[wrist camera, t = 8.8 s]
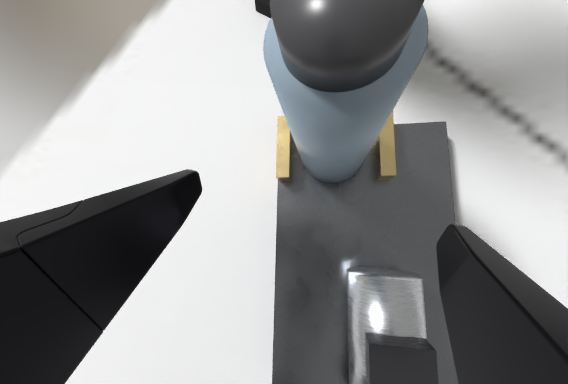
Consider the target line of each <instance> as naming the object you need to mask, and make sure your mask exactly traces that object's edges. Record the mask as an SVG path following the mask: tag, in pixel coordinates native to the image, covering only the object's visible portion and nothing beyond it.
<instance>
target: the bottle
mask: <svg viewBox="0 0 568 384" xmlns="http://www.w3.org/2000/svg"><path fill="white" fill-rule="evenodd" d="M423 2H424V0H270V11H271V16H272V17H271V19H270V21H269V23H268V26H267V29H266V32H265V38H264V49H263V50H264V59H265V63H266V67H267V70H268V72H269V75H270V78H271V80H272V83H273V86H274V88H275V91H276V94H277V96H278V99H279V102H280V104H281V107H282V110H283V113H284V115H285V118H286V121H287V123H288V126H289V129H290V131H291V134H292V137H293V139H294V142H295V145H296V147H297V150H298V153H299V155H300V158H301V161H302V163H303V166H304V167H305V169H306V170H307V172H308V173H309V174H310V175H312V176H313V177H314V178H316V179H318V180H321V181H324V182H340V181H343V180H346V179H348V178H350V177H351V176H353V175H354V174H355V173H356V172H357V171H358V170H359V169H360V167H361V165H362V164H363V162H364V160H365V158H366V157H367V155H368V153H369V151H370V150H371V148H372V146H373V144H374V142H375V141H376V139H377V137H378V135H379V134H380V132H381V130H382V128H383V126H384V125H385V123H386V121H387V119H388V118H389V116H390V114H391V112H392V110H393V109H394V107H395V105H396V103H397V102H398V100H399V98H400V96H401V94H402V93H403V91H404V89H405V87H406V86H407V84H408V82H409V80H410V78H411V77H412V75H413V73H414V71H415V70H416V68H417V66H418V64H419V62H420V61H421V59H422V56H423V54H424V51H425V48H426V44H427V40H428V19H427V15H426V11H425V9H424V7H423Z"/></svg>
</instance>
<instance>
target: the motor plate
mask: <svg viewBox="0 0 568 384" xmlns="http://www.w3.org/2000/svg"><path fill="white" fill-rule="evenodd" d="M276 178H277V179H278V197H277V232H276V268H275V303H274V339H273V374H272V384H459V383H458V378H457V374H456V369H455V364H454V359H453V354H452V349H451V344H450V340H449V335H448V330H447V325H446V320H445V315H444V310H443V306H442V301H441V295H440V289H439V278H438V265H437V251H436V245H437V242H438V240H439V238H440V237H441V235H442V234H443V232H444V231H445V229H446V228H447V226H448V225H450V224H455V216H454V205H453V194H452V183H451V172H450V161H449V150H448V139H447V128H446V122H429V123H411V124H393V110H392V112H391V114H390V116H389V118H388V119H387V121H386V123H385V125H384V126H383V128H382V130H381V132H380V134H379V135H378V137H377V139H376V141H375V142H374V144H373V146H372V148H371V150H370V151H369V153H368V155H367V157H366V158H365V160H364V162H363V164H362V165H361V167H360V169H359V170H358V171H357V172H356V173H355V174H354V175H353V176H351V177H350V178H348V179H346V180H343V181H340V182H324V181H321V180H318V179H316V178H314V177H313V176H312V175H310V174H309V173H308V172H307V170H306V169H305V167H304V166H303V163H302V161H301V158H300V155H299V153H298V150H297V147H296V145H295V142H294V139H293V137H292V134H291V131H290V129H289V126H288V123H287V121H286V118H285V116H278V132H277V166H276Z"/></svg>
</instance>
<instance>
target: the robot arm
mask: <svg viewBox="0 0 568 384" xmlns="http://www.w3.org/2000/svg"><path fill="white" fill-rule="evenodd" d="M201 192H202V186H201V181H200V177H199V173H198V172H197V171H194V170H183V171H180V172H177V173H173V174H170V175H166V176H163V177H160V178H156V179H153V180H149V181H146V182H143V183H139V184H136V185H132V186H129V187H126V188H122V189H119V190H115V191H112V192H109V193H105V194H102V195H99V196H95V197H92V198H88V199H85V200H84V201H83V200H81V201H78V202H75V203H71V204H68V205H64V206H61V207H57V208H54V209H50V210H46V211H43V212H39V213H35V214H31V215H27V216H23V217H20V218H16V219H12V220H8V221H4V222H0V384H65V383H66V381H67V380H68V378H69V377H70V376H71V374H72V373H73V372H74V370H75V369H76V368H77V366H78V365H79V364H80V362H81V361H82V360H83V358H84V357H85V356H86V354H87V353H88V352H89V350H90V349H91V348H92V346H93V345H94V343H95V342H96V341H97V339H98V338H99V337H100V335H101V334H102V333H103V330H105V328H106V327H107V326H108V324H109V323H110V322H111V320H112V319H113V318H114V316H115V315H116V314H117V312H118V311H119V310H120V308H121V307H122V306H123V304H124V303H125V302H126V300H127V299H128V297H129V296H130V295H131V293H132V292H133V291H134V289H135V288H136V287H137V285H138V284H139V283H140V281H141V280H142V279H143V277H144V276H145V275H146V273H147V272H148V271H149V269H150V268H151V267H152V265H153V264H154V263H155V261H156V260H157V258H158V257H159V256H160V254H161V253H162V252H163V250H164V249H165V248H166V246H167V245H168V244H169V242H170V241H171V240H172V238H173V237H174V236H175V234H176V233H177V232H178V230H179V229H180V228H181V226H182V225H183V223H184V222H185V220H186V218H187V217H188V215H189V213H190V212H191V210H192V208H193V207H194V205H195V203H196V202H197V200H198V198H199V196H200V195H201ZM436 251H437V265H438V278H439V289H440V295H441V301H442V306H443V310H444V315H445V320H446V325H447V330H448V335H449V340H450V344H451V349H452V354H453V359H454V364H455V369H456V374H457V378H458V383H459V384H568V308H566V307H565V306H564V305H563V304H561V303H560V302H559V301H558V300H556V299H555V298H554V297H553V296H551V295H550V294H549V293H548V292H546V291H545V290H544V289H543V288H541V287H540V286H539V285H538V284H536V283H535V282H534V281H533V280H532V279H530V278H529V277H528V276H527V275H525V274H524V273H523V272H522V271H520V270H519V269H518V268H517V267H515V266H514V265H513V264H512V263H510V262H509V261H508V260H507V259H505V258H504V257H503V256H502V255H500V254H499V253H498V252H497V251H496V250H494V249H493V248H492V247H491V246H489V245H488V244H487V243H486V242H484V241H483V240H482V239H481V238H479V237H478V236H477V235H476V234H474V233H473V232H472V231H471V230H469V229H468V228H467V227H465V226H460V225H456V224H450V225H448V226H447V228H446V229H445V231H444V232H443V234H442V235H441V237H440V238H439V240H438V242H437V245H436Z"/></svg>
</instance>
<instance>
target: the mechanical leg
mask: <svg viewBox="0 0 568 384" xmlns="http://www.w3.org/2000/svg"><path fill="white" fill-rule="evenodd" d="M255 6H256V11H258V12H259V13H262V14H264V15H266V16H268V17H270V18H271V17H272V16H271V11H270V0H255Z"/></svg>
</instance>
